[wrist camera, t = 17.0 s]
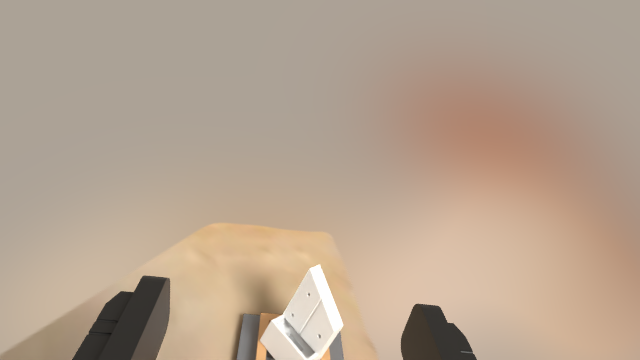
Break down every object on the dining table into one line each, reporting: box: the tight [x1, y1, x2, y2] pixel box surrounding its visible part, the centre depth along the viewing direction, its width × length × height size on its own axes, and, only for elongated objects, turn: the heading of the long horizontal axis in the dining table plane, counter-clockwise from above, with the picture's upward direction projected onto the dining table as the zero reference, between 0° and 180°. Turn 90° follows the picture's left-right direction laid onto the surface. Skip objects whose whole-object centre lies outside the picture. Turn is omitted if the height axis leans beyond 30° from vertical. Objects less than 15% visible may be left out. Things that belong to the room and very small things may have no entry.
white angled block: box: [260, 265, 343, 360], centre depth 40 cm, size 4×10×9 cm
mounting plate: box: [237, 313, 344, 360], centre depth 41 cm, size 12×12×2 cm
